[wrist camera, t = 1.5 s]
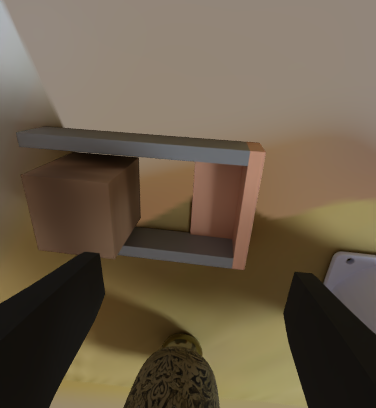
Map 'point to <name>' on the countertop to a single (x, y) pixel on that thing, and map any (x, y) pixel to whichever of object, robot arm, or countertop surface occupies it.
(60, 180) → the walnut block
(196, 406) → the cup
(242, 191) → the channel
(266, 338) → the countertop surface
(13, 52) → the countertop surface
